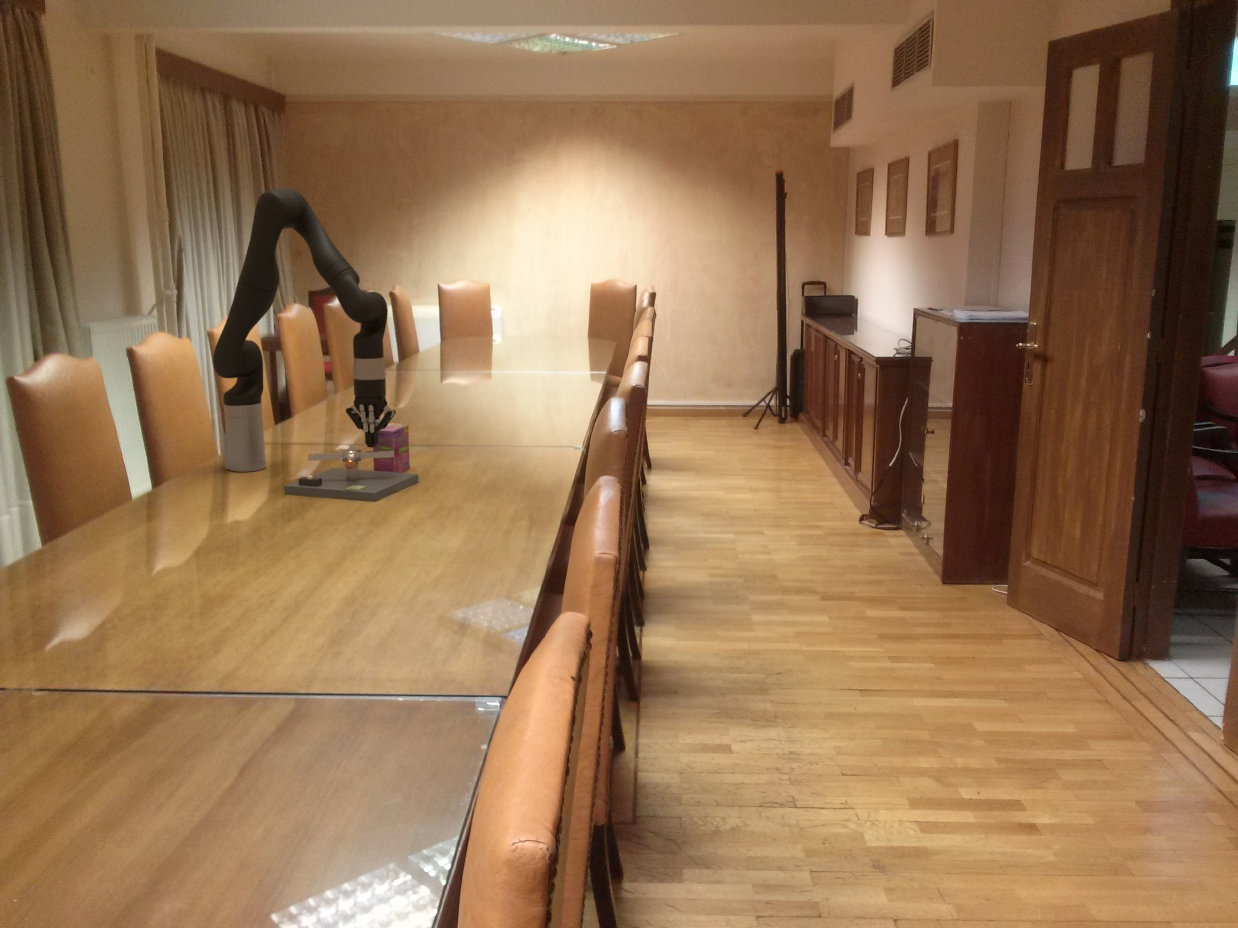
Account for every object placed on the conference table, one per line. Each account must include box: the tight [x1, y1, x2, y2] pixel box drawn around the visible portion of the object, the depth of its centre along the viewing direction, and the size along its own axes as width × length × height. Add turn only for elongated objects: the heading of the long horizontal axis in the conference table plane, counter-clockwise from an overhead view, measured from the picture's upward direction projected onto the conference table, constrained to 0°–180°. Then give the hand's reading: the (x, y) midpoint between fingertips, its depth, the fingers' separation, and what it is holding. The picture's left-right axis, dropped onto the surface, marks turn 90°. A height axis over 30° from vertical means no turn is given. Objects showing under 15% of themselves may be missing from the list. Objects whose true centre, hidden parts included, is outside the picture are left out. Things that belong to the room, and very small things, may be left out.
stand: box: [284, 461, 420, 502], centre depth 260 cm, size 24×21×6 cm
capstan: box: [307, 444, 394, 470], centre depth 258 cm, size 22×20×2 cm
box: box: [372, 422, 411, 473], centre depth 277 cm, size 10×6×12 cm, turn 168°
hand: (372, 446), depth 263 cm, fingers closed
